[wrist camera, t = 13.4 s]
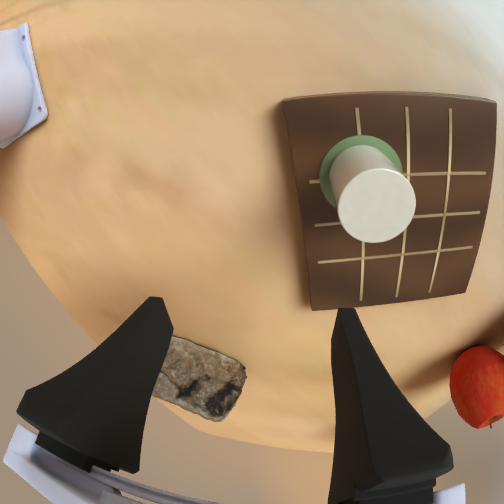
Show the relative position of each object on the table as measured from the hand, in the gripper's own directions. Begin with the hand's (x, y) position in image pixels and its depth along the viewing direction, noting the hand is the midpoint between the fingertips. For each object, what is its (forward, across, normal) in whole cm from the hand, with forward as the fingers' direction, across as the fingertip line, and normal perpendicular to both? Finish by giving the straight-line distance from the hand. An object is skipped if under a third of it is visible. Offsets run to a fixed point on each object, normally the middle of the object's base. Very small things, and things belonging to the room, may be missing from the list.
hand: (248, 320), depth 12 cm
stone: (+10, +8, +18) cm, 22 cm away
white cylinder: (+8, -6, -3) cm, 11 cm away
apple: (+10, -25, +18) cm, 32 cm away
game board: (+10, -9, 0) cm, 13 cm away
